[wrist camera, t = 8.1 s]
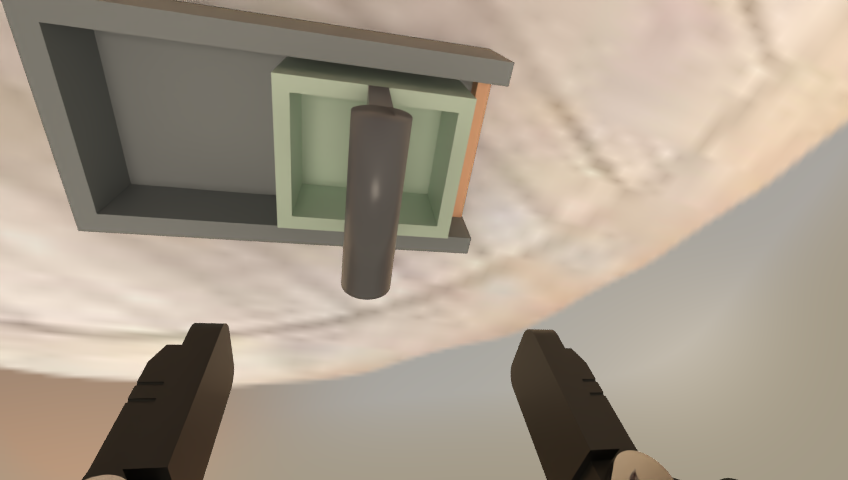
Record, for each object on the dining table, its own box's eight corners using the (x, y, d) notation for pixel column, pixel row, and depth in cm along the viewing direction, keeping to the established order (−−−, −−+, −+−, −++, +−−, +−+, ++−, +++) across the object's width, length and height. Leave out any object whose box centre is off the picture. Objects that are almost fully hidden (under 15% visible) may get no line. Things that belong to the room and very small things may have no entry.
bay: (68, -16, 21) (-4, -15, 17) (489, 48, 25) (514, 62, 21) (122, 192, 27) (78, 230, 23) (453, 217, 32) (467, 253, 27)
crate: (287, 55, 23) (237, 105, 14) (458, 79, 25) (512, 137, 16) (290, 189, 28) (253, 295, 18) (435, 201, 29) (468, 303, 20)
